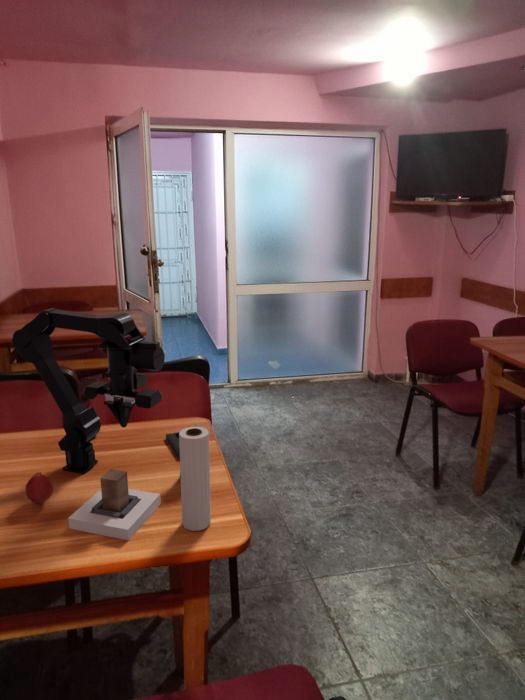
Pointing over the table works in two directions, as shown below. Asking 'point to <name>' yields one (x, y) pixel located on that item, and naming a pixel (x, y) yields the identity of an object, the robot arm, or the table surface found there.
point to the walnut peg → (114, 490)
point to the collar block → (115, 515)
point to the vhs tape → (174, 442)
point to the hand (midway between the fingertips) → (124, 426)
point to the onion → (39, 488)
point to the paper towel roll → (195, 477)
